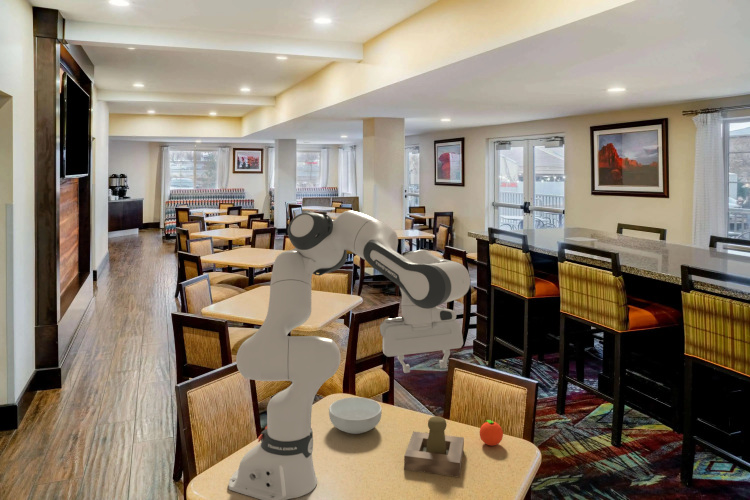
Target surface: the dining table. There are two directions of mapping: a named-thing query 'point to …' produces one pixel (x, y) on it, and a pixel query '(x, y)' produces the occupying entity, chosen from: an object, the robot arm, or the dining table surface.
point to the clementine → (491, 433)
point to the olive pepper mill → (436, 435)
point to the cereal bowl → (355, 414)
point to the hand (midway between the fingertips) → (425, 369)
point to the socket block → (434, 456)
